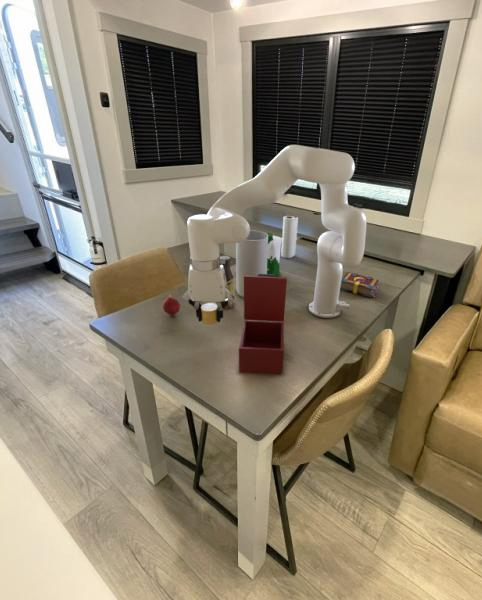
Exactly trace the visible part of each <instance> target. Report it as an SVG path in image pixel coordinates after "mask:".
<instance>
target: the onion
mask: <svg viewBox="0 0 482 600" xmlns="http://www.w3.org/2000/svg"><path fill="white" fill-rule="evenodd" d="M162 309H163V312H165V313H166V314H167V315H170V316H174V315H177V313H179V311H180V309H181V303H180V302H179V300H178V299H177V298H175V297H173V296H172V295H171V294H169V295H168V297H167V298H166V299H165V300H164V302H163V304H162Z"/></svg>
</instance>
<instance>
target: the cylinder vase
mask: <svg viewBox="0 0 482 600" xmlns="http://www.w3.org/2000/svg"><path fill="white" fill-rule="evenodd" d="M266 233H267V232H265V231H261V230H253V229H250V233H249V235H248V237H247V238H246V239H245V240H244V241H242V242H239V243H235V266H236V267H235V276H236V278H235V279H236V280H235V281H236V282H235V283H236V286H235V287H236V293H237V294H238V296H240V297H242V298H244V275H248V276H258V274H267V254H268V234H266Z"/></svg>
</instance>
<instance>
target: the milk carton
mask: <svg viewBox="0 0 482 600" xmlns="http://www.w3.org/2000/svg"><path fill="white" fill-rule="evenodd" d="M265 233H266V234H268V254H267V274H274V277H277V276H278V275H280V262H281V248H282V237H280V236H277V235H274V234H273V233H271V232H265Z"/></svg>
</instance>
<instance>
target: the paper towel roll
mask: <svg viewBox="0 0 482 600" xmlns="http://www.w3.org/2000/svg"><path fill="white" fill-rule="evenodd" d="M282 219H283V221H282V237H281V238H282V242H281V251H280V257H282V258H284V259H291V258H293V257H295V256H296V252H297V251H296V250H297V237H298V226H299V225H298V224H299V216H296V217H295V216H291V215H285V216H283V218H282Z"/></svg>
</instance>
